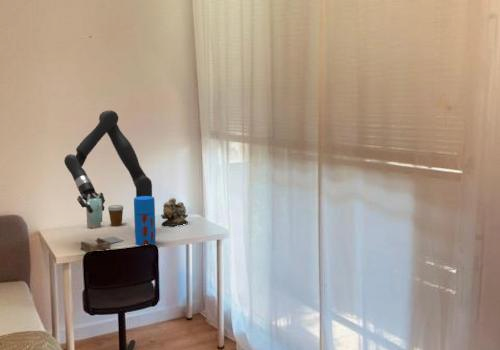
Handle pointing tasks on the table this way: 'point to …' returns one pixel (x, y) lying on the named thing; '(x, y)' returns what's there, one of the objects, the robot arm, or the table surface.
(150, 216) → the thermos
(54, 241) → the table surface
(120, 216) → the disposable coffee cup
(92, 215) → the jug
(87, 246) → the cradle
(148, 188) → the robot arm
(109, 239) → the mat
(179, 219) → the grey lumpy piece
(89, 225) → the travel mug
